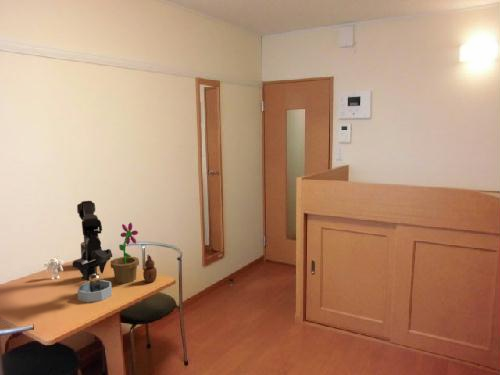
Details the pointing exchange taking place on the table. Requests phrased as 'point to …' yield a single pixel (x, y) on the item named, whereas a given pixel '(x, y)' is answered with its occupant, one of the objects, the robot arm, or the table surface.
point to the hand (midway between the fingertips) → (94, 276)
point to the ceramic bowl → (95, 296)
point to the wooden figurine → (149, 270)
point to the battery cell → (94, 282)
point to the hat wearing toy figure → (54, 267)
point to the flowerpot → (125, 259)
